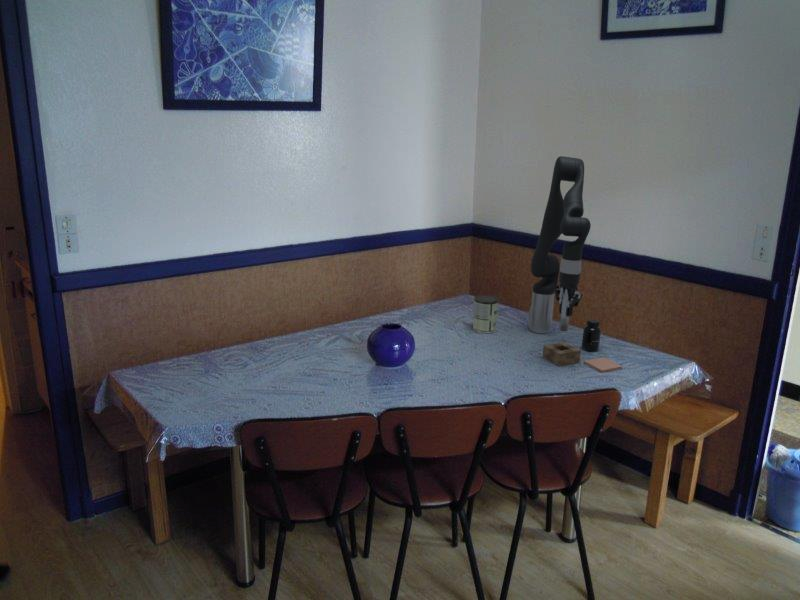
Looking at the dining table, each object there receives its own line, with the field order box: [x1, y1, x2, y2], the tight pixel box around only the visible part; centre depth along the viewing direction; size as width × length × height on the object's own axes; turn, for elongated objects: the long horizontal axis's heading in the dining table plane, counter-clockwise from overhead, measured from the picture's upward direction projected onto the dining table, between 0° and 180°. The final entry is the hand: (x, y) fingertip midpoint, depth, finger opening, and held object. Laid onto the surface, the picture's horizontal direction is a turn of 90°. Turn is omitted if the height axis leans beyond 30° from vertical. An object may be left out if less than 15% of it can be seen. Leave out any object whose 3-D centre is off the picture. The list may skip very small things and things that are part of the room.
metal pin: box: [558, 292, 571, 332], centre depth 260 cm, size 3×3×16 cm
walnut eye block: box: [542, 341, 582, 367], centre depth 265 cm, size 10×10×5 cm
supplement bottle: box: [581, 318, 602, 353], centre depth 276 cm, size 7×7×12 cm
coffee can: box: [472, 294, 500, 334], centre depth 295 cm, size 10×10×14 cm
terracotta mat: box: [583, 356, 623, 374], centre depth 261 cm, size 10×10×1 cm
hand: (565, 314), depth 260 cm, fingers closed on metal pin, 3 cm apart
